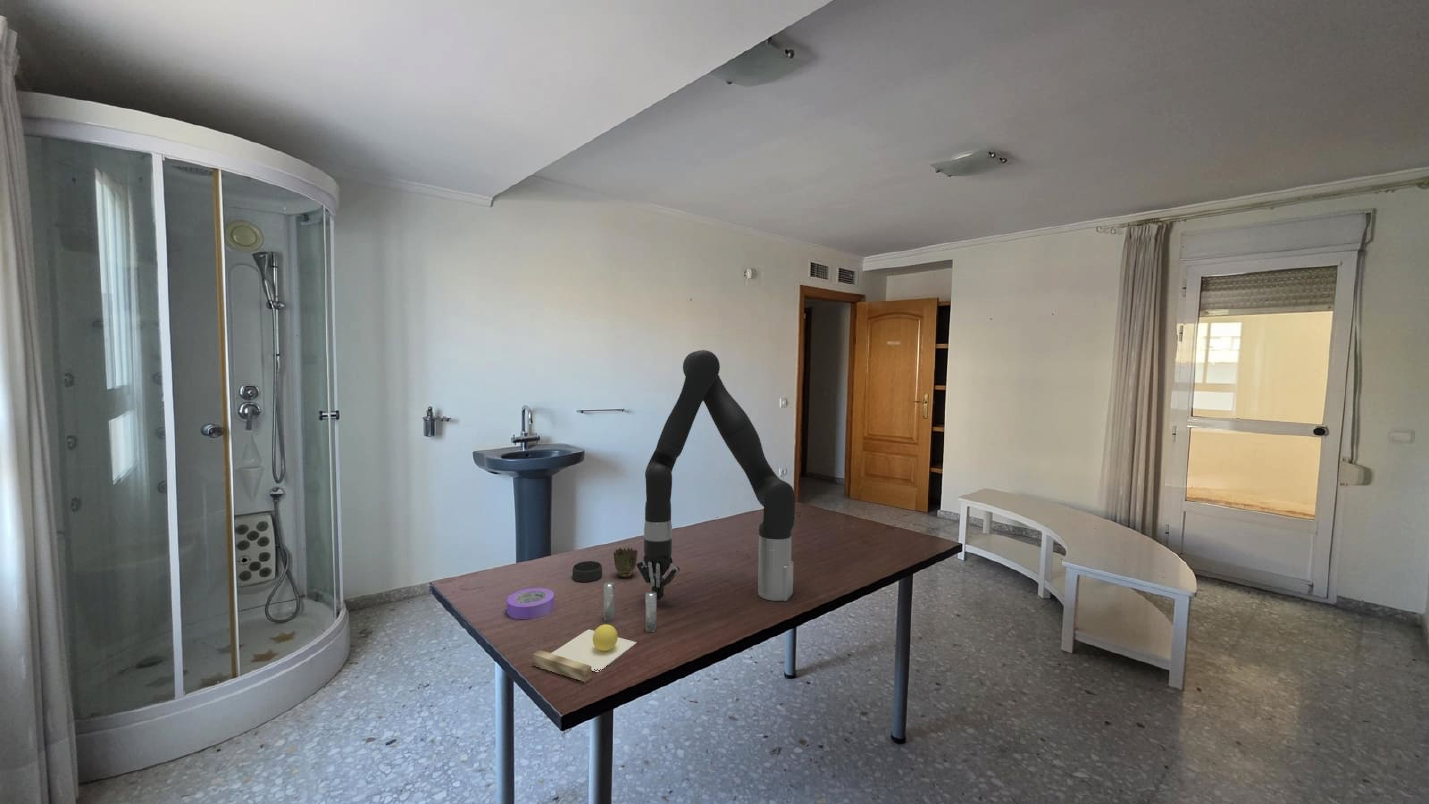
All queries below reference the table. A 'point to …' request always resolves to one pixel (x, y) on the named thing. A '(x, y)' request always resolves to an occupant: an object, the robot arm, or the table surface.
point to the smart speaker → (587, 571)
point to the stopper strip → (561, 665)
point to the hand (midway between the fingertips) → (657, 599)
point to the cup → (625, 561)
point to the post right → (650, 611)
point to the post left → (609, 601)
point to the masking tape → (530, 603)
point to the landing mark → (592, 651)
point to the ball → (605, 637)
